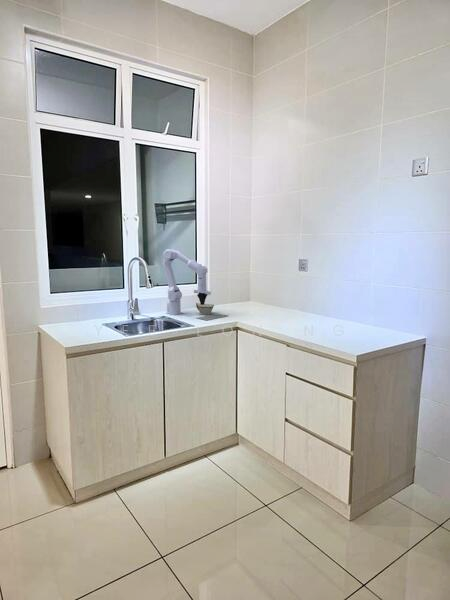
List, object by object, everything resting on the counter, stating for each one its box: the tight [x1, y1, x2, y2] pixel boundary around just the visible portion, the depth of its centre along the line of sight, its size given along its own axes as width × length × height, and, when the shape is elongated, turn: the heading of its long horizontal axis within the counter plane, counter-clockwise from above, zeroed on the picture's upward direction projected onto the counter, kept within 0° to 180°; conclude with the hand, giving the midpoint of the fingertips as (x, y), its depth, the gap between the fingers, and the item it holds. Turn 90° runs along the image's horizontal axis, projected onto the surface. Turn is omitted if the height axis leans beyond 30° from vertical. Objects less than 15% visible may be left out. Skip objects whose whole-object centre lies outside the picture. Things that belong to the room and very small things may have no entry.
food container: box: [195, 302, 215, 316], centre depth 268 cm, size 12×6×10 cm
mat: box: [195, 313, 229, 321], centre depth 256 cm, size 10×20×1 cm, turn 136°
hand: (202, 304), depth 262 cm, fingers closed
